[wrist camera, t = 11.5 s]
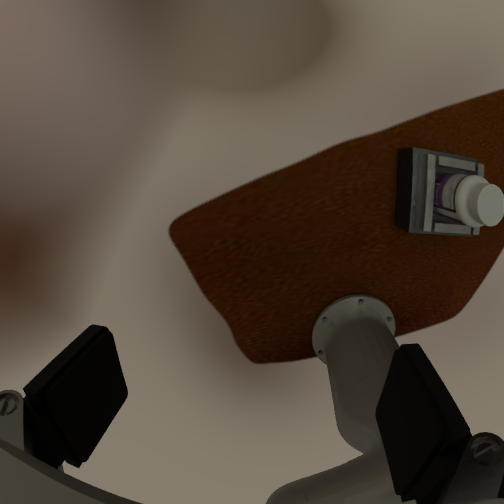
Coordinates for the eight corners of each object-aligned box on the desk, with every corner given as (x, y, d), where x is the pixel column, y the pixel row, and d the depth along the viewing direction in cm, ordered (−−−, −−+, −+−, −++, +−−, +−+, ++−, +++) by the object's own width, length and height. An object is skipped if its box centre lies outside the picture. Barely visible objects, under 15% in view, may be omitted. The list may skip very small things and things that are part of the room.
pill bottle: (468, 197, 29) (516, 209, 20) (443, 225, 31) (487, 245, 21) (446, 163, 29) (494, 164, 19) (419, 191, 30) (463, 201, 21)
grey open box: (453, 228, 35) (482, 241, 28) (394, 224, 36) (417, 237, 29) (458, 159, 33) (488, 159, 25) (397, 149, 34) (422, 146, 26)
